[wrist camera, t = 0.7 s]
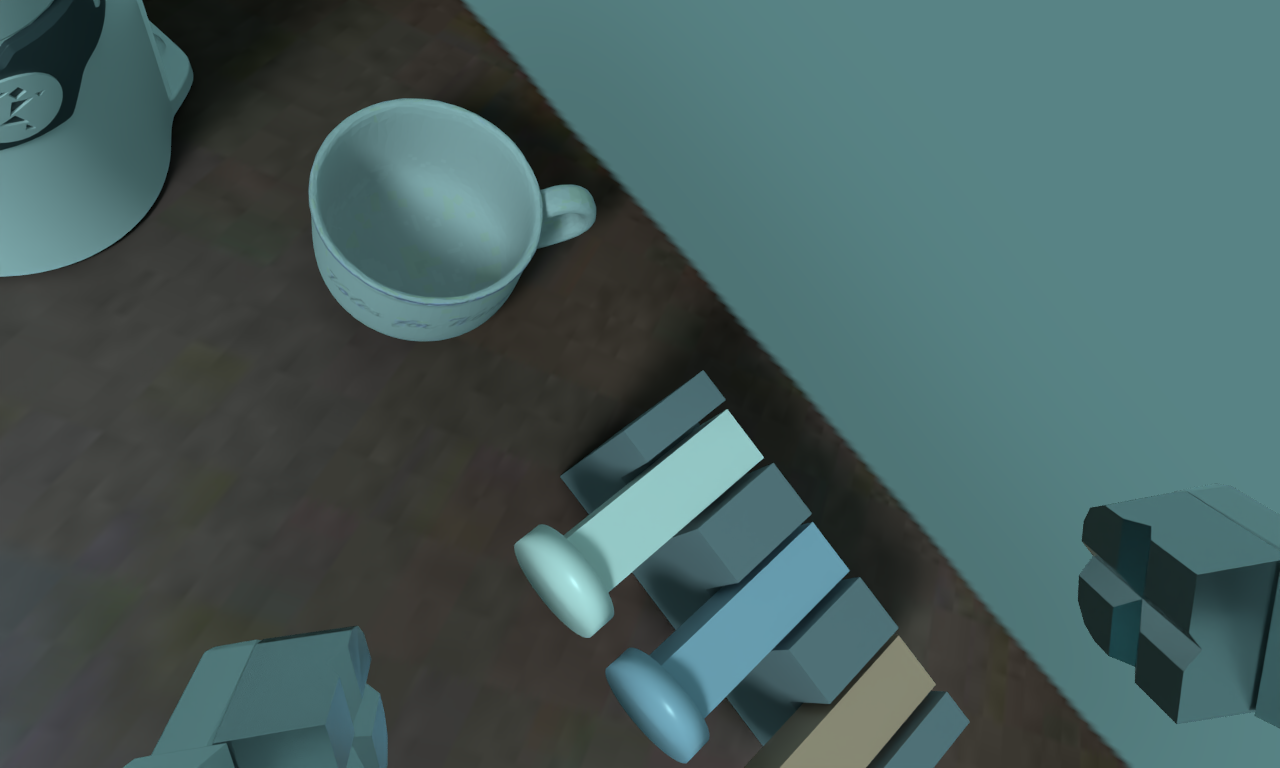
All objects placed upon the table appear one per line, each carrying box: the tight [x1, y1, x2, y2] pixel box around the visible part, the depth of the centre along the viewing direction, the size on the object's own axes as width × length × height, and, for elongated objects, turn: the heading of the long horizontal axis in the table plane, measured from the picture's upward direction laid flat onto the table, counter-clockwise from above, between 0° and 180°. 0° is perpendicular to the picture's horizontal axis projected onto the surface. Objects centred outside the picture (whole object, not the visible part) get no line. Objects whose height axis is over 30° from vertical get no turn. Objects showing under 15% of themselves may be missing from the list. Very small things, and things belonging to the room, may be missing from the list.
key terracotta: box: [744, 635, 936, 768], centre depth 40 cm, size 5×11×5 cm, turn 130°
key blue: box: [605, 522, 850, 763], centre depth 40 cm, size 5×11×5 cm, turn 130°
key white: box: [514, 409, 764, 638], centre depth 40 cm, size 5×11×5 cm, turn 130°
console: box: [560, 370, 969, 768], centre depth 45 cm, size 20×5×10 cm, turn 40°
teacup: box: [308, 99, 596, 341], centre depth 46 cm, size 14×11×8 cm
